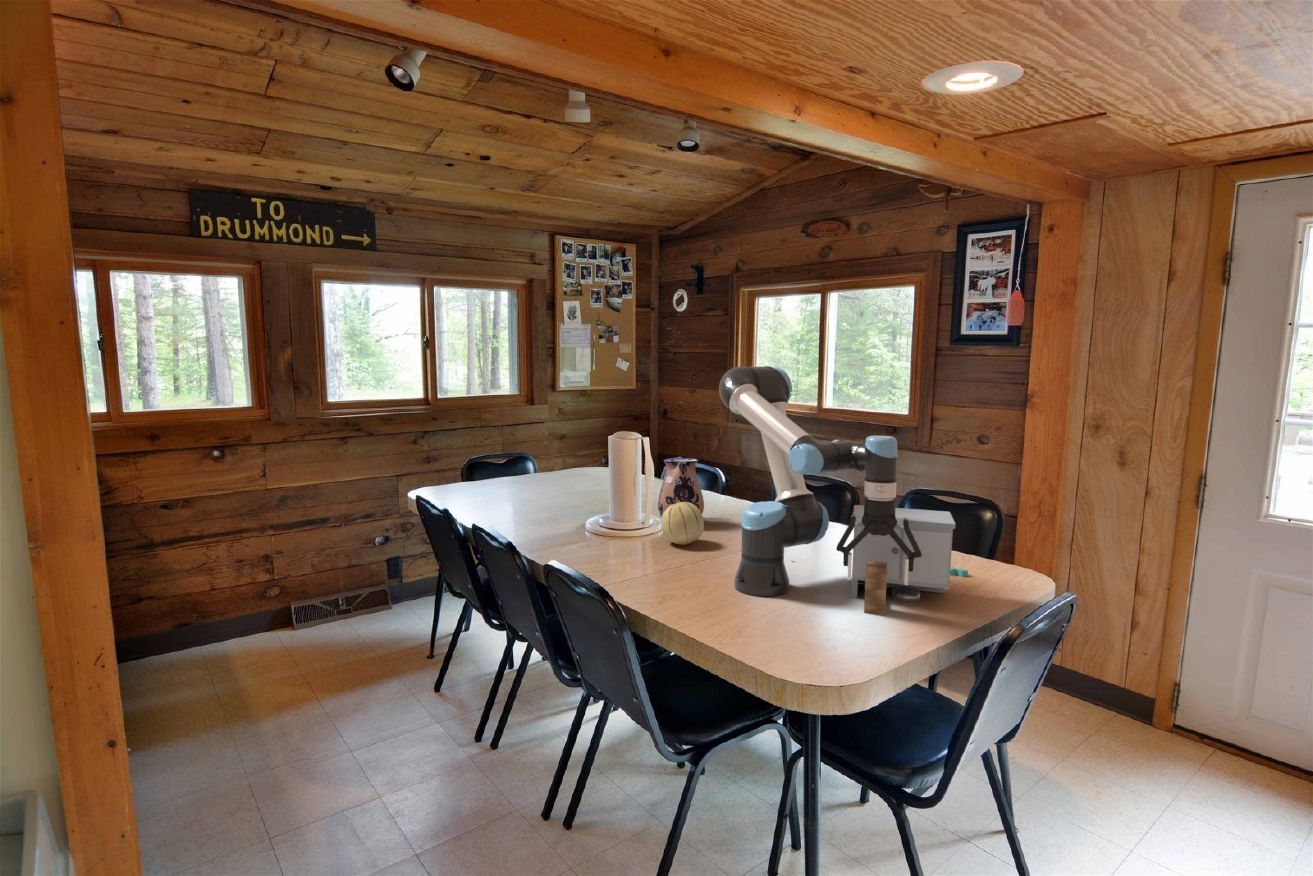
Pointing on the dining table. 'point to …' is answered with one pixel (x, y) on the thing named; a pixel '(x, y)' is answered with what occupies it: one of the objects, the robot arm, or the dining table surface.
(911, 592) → the steel puck
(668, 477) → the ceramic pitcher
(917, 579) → the cabinet
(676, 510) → the cantaloupe
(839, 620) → the dining table surface
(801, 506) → the robot arm
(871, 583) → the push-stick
